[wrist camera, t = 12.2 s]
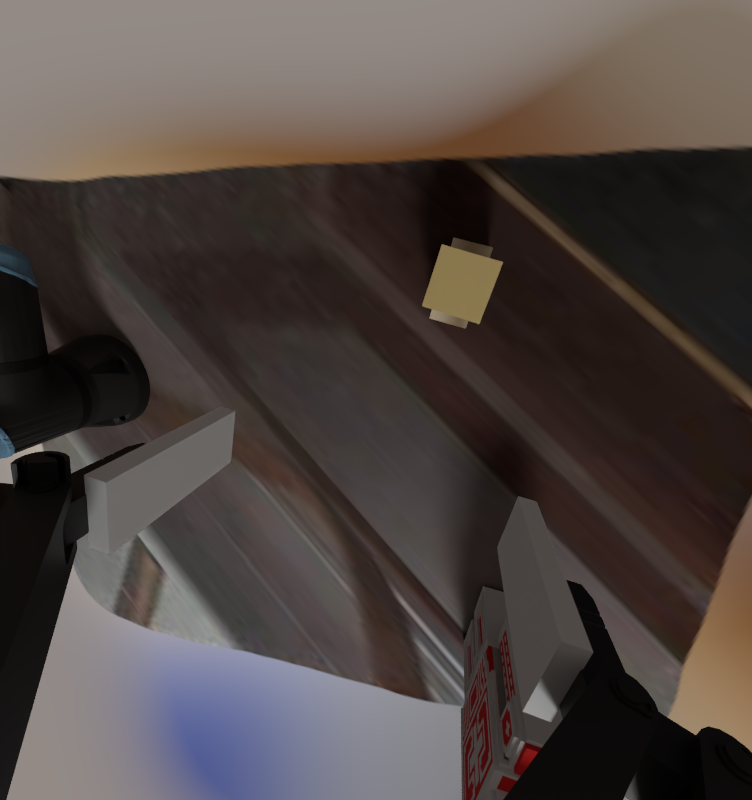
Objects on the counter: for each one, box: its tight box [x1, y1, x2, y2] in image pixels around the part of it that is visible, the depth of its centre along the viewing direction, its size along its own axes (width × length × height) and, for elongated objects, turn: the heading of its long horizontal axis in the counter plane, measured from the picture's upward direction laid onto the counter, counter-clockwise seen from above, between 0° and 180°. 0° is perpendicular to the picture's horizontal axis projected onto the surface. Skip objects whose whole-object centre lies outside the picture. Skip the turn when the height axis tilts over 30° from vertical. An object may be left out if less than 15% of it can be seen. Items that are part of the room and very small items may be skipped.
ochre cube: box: [422, 244, 503, 324], centre depth 38 cm, size 6×6×6 cm
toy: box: [461, 586, 563, 800], centre depth 45 cm, size 22×8×30 cm, turn 171°
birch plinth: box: [430, 238, 493, 328], centre depth 43 cm, size 4×9×5 cm, turn 166°
